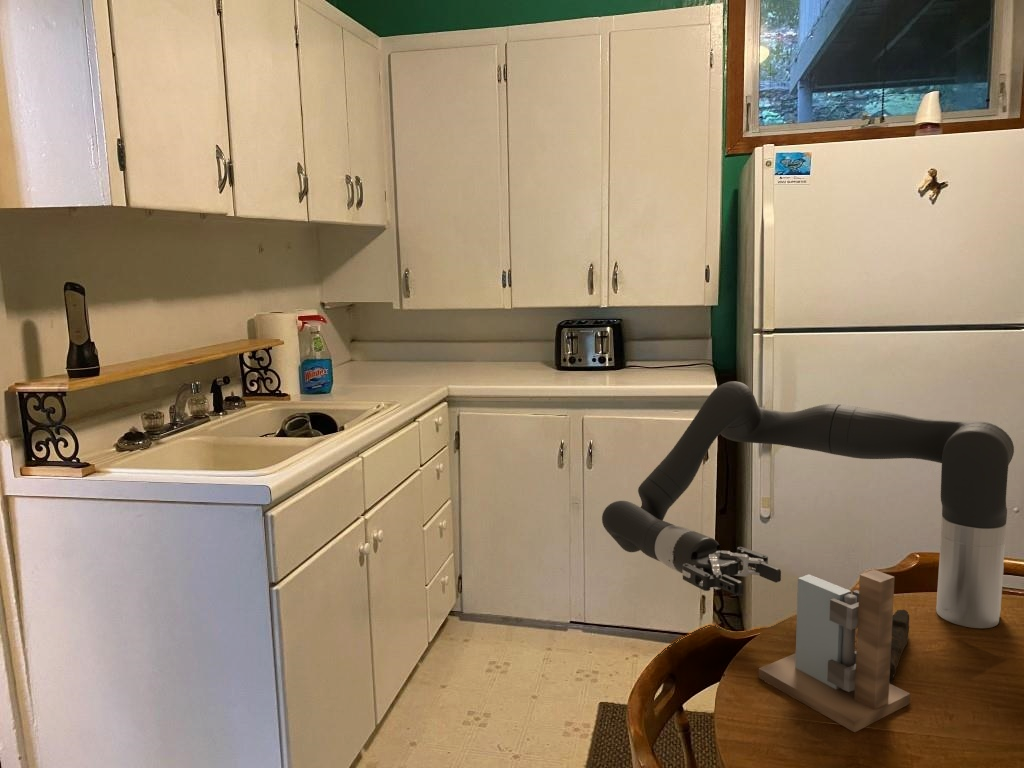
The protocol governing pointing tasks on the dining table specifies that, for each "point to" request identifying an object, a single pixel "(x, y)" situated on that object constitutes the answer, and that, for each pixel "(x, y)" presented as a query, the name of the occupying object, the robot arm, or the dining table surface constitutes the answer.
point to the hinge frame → (870, 662)
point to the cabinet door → (821, 628)
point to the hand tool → (898, 639)
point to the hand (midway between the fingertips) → (760, 582)
